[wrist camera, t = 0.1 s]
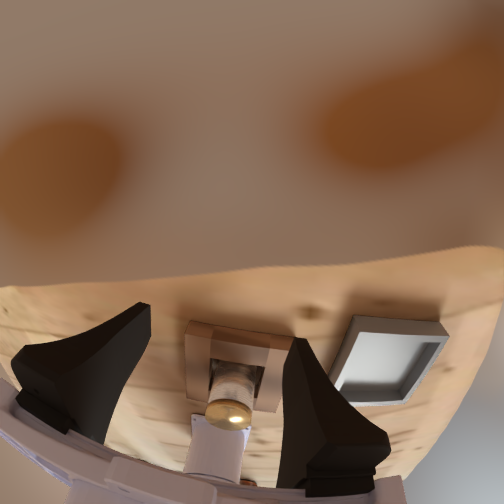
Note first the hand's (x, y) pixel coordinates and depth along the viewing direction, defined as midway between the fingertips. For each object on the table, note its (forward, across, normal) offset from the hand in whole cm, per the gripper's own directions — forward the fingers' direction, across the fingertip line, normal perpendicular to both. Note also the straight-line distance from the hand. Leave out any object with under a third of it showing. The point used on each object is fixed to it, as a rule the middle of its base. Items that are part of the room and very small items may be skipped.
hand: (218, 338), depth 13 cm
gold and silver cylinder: (+10, -2, +12) cm, 16 cm away
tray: (+10, -16, +8) cm, 21 cm away
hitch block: (+10, -2, +12) cm, 16 cm away
